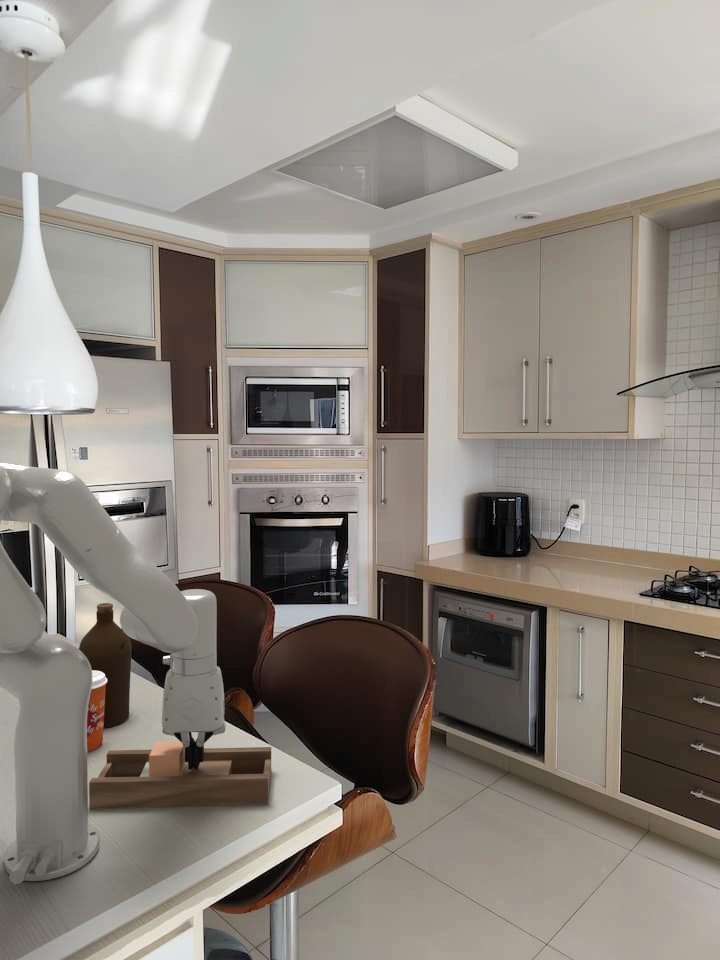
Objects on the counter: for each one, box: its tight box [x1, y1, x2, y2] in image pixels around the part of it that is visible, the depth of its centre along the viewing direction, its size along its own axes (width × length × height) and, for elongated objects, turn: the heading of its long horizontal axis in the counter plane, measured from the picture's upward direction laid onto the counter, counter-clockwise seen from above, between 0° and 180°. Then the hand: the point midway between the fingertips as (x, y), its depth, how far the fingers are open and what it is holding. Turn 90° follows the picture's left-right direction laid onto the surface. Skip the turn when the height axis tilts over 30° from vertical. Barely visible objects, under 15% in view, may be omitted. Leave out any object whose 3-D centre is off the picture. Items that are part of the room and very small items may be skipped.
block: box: [149, 741, 185, 776], centre depth 115 cm, size 5×5×4 cm
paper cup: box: [87, 670, 107, 753], centre depth 130 cm, size 8×8×14 cm
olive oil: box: [78, 602, 133, 729], centre depth 141 cm, size 11×11×25 cm
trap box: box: [88, 746, 272, 810], centre depth 115 cm, size 11×29×4 cm, turn 95°
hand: (194, 765), depth 115 cm, fingers closed
